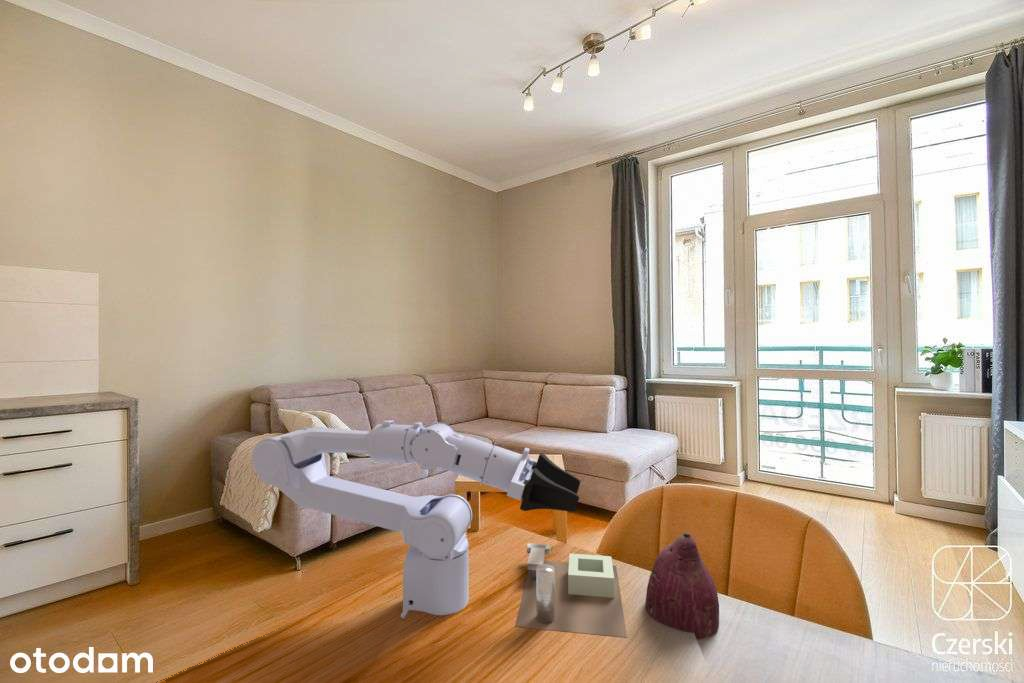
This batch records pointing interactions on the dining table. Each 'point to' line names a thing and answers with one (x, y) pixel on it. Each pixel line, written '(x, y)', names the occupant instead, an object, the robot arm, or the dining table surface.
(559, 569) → the board
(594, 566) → the square hollow frame
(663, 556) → the vegetable
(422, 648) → the dining table surface
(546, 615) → the pin
